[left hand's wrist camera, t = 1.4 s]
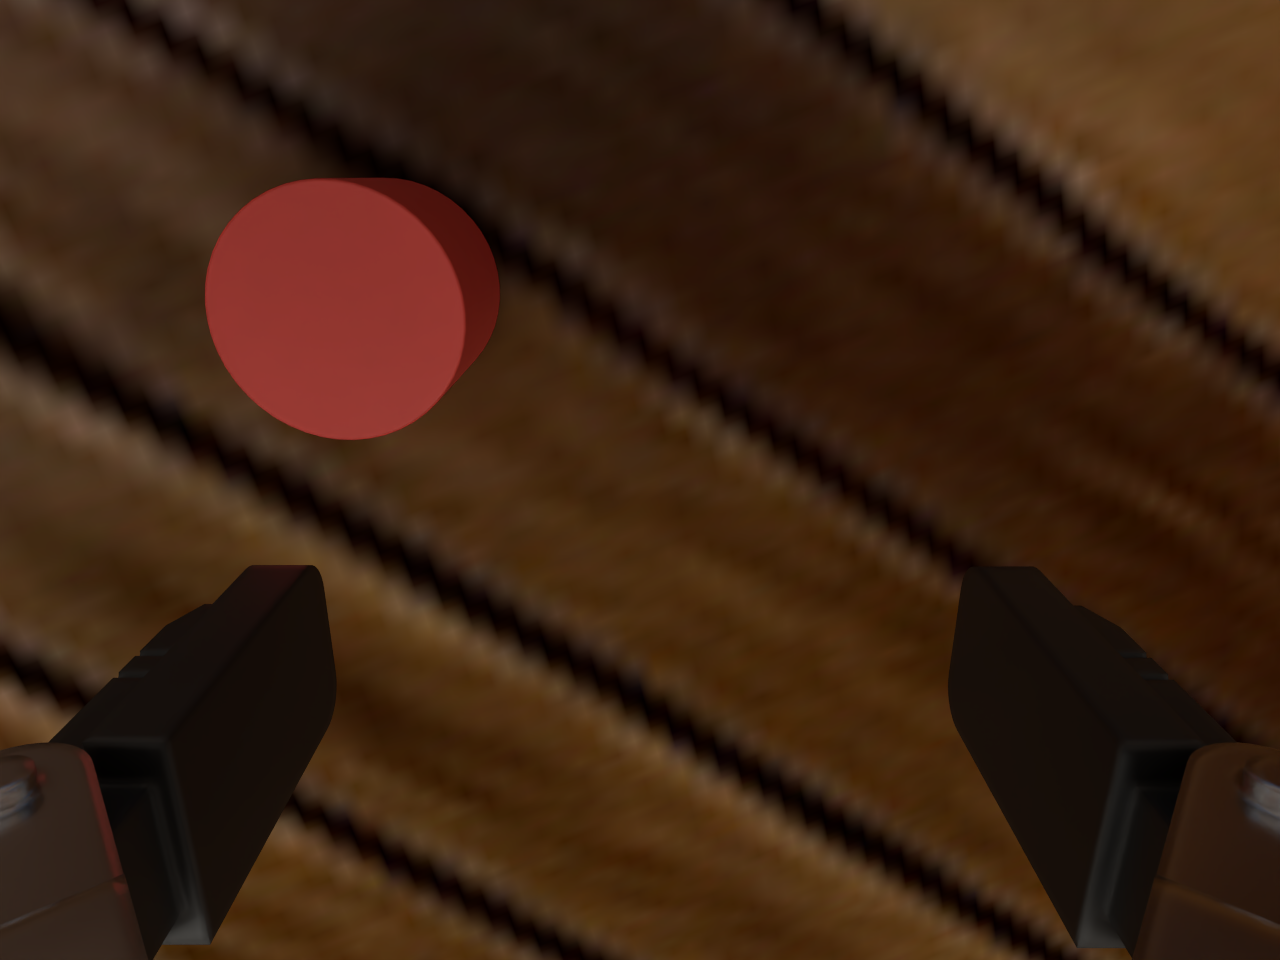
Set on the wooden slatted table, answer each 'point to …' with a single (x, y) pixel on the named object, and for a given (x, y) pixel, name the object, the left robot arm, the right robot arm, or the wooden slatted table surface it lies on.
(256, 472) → the wooden slatted table surface
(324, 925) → the wooden slatted table surface
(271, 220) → the canister
